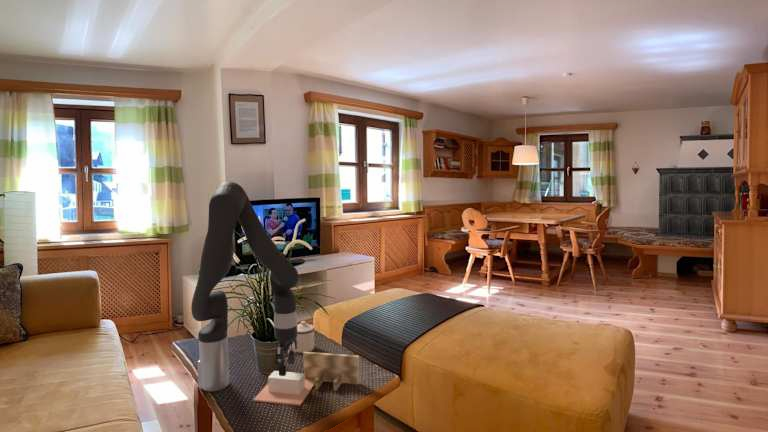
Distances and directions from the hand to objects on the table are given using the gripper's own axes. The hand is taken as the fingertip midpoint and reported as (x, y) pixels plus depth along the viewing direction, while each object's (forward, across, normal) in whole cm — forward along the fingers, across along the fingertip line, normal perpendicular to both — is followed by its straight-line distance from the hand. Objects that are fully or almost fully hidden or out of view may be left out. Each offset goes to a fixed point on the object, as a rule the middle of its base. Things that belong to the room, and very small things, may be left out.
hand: (287, 369), depth 149 cm
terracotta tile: (+7, -2, 0) cm, 7 cm away
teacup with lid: (+8, +32, +6) cm, 34 cm away
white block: (+6, -2, 0) cm, 7 cm away
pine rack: (+7, +3, -13) cm, 15 cm away
